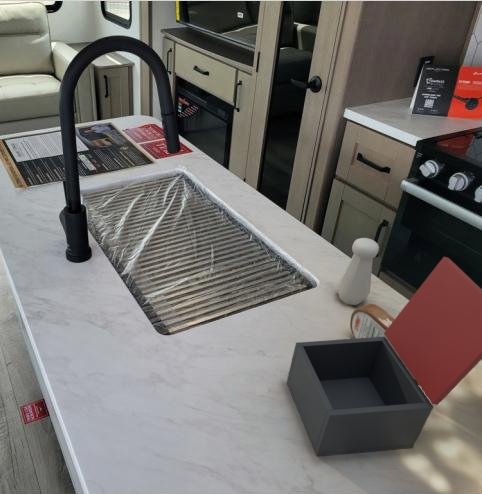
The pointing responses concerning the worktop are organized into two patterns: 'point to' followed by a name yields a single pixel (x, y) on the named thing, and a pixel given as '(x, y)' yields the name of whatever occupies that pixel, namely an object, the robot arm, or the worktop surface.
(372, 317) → the tin
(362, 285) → the salt shaker
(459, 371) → the storage bin lid
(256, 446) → the worktop surface
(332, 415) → the dark grey storage bin
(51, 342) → the worktop surface
